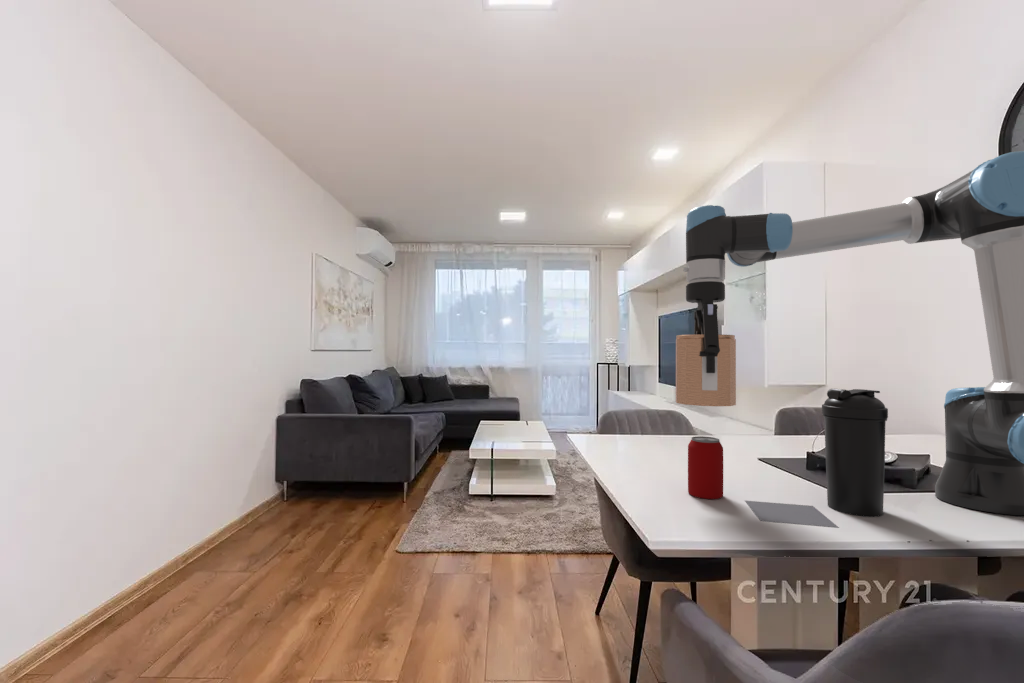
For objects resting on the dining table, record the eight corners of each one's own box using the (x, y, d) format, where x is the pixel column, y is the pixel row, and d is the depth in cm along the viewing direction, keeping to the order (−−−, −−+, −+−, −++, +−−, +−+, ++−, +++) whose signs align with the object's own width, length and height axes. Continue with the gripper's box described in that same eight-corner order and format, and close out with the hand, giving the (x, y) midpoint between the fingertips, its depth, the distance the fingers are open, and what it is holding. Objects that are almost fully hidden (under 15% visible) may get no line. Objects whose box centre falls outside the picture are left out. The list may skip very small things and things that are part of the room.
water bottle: (904, 520, 86) (902, 391, 86) (849, 521, 85) (848, 391, 85) (859, 503, 96) (858, 387, 96) (810, 503, 95) (809, 387, 96)
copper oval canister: (728, 401, 103) (728, 336, 103) (740, 407, 92) (740, 334, 93) (674, 400, 106) (674, 336, 106) (678, 405, 95) (679, 334, 95)
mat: (812, 508, 92) (812, 505, 92) (838, 530, 80) (839, 527, 80) (744, 503, 95) (744, 500, 95) (760, 523, 83) (760, 520, 83)
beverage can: (717, 493, 102) (717, 436, 102) (728, 503, 95) (728, 442, 95) (684, 492, 102) (684, 435, 103) (692, 501, 95) (692, 441, 96)
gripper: (680, 290, 112) (680, 384, 111) (693, 273, 89) (692, 391, 89) (715, 289, 110) (715, 385, 110) (736, 272, 87) (736, 393, 87)
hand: (705, 388), depth 99 cm, fingers closed on copper oval canister, 11 cm apart
